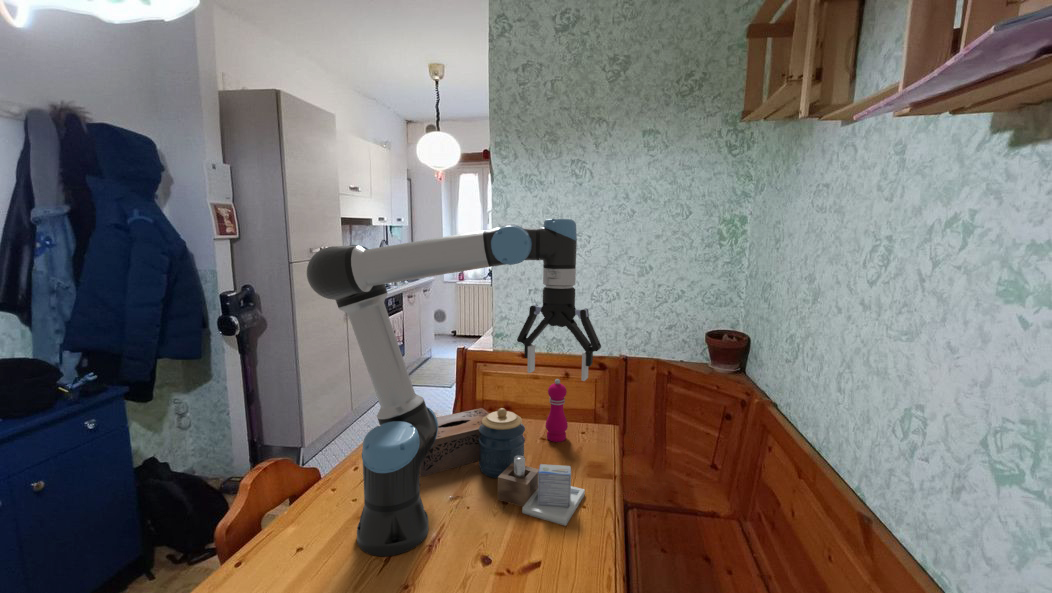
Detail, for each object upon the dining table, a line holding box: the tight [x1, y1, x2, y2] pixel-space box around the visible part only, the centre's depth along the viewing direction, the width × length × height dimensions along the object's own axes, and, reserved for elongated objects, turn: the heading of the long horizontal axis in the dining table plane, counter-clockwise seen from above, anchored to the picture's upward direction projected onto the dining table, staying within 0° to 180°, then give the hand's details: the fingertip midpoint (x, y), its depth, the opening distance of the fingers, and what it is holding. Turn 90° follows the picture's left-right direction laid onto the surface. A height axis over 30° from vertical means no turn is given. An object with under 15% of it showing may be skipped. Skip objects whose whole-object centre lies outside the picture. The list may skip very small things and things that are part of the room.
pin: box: [514, 455, 526, 479], centre depth 115 cm, size 3×3×10 cm
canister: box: [478, 407, 526, 479], centre depth 128 cm, size 13×13×18 cm
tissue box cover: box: [419, 407, 491, 478], centre depth 136 cm, size 26×14×10 cm, turn 122°
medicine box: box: [538, 463, 572, 507], centre depth 111 cm, size 8×4×9 cm, turn 84°
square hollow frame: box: [497, 463, 539, 507], centre depth 115 cm, size 8×8×6 cm
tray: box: [521, 485, 586, 527], centre depth 112 cm, size 11×14×2 cm
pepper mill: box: [545, 378, 569, 443], centre depth 148 cm, size 7×7×20 cm
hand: (557, 375), depth 108 cm, fingers open, 13 cm apart
